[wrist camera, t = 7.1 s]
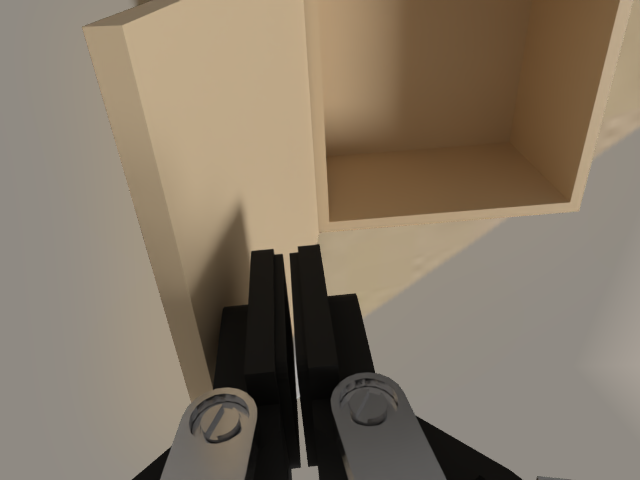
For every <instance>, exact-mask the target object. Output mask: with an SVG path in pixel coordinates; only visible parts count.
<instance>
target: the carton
mask: <svg viewBox="0 0 640 480" xmlns="http://www.w3.org/2000/svg"><path fill="white" fill-rule="evenodd" d="M633 1H634V0H304V16H305V31H306V46H307V62H308V77H309V92H310V108H311V123H312V138H313V153H314V169H315V184H316V199H317V215H318V230H319V233H322V232H334V231H346V230H358V229H370V228H382V227H395V226H407V225H419V224H431V223H443V222H455V221H467V220H480V219H492V218H504V217H516V216H527V215H540V214H551V213H564V212H577V211H579V209H580V205H581V201H582V197H583V193H584V189H585V185H586V182H587V178H588V173H589V170H590V166H591V163H592V159H593V155H594V151H595V147H596V143H597V140H598V136H599V132H600V128H601V124H602V120H603V116H604V113H605V109H606V105H607V101H608V97H609V93H610V89H611V86H612V82H613V78H614V74H615V70H616V66H617V63H618V59H619V55H620V51H621V47H622V43H623V39H624V36H625V32H626V28H627V24H628V20H629V16H630V12H631V9H632V5H633Z"/></svg>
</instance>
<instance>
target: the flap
mask: <svg viewBox="0 0 640 480" xmlns="http://www.w3.org/2000/svg"><path fill="white" fill-rule="evenodd" d="M82 29H83V32H84V36H85V39H86V42H87V46H88V49H89V53H90V56H91V59H92V63H93V66H94V70H95V73H96V77H97V80H98V83H99V87H100V91H101V94H102V97H103V101H104V104H105V108H106V111H107V114H108V118H109V121H110V125H111V128H112V132H113V135H114V139H115V142H116V145H117V149H118V152H119V156H120V159H121V163H122V166H123V169H124V173H125V176H126V180H127V183H128V187H129V189H130V194H131V197H132V201H133V204H134V207H135V211H136V214H137V218H138V221H139V224H140V228H141V231H142V234H143V238H144V242H145V245H146V249H147V252H148V255H149V259H150V262H151V266H152V269H153V273H154V276H155V280H156V283H157V286H158V290H159V293H160V297H161V300H162V303H163V307H164V311H165V314H166V317H167V321H168V324H169V328H170V331H171V335H172V338H173V341H174V345H175V348H176V352H177V355H178V358H179V362H180V366H181V369H182V372H183V376H184V379H185V383H186V386H187V389H188V393H189V396H190V400H191V403H192V402H193V401H194V400H195V399H196V398H198V397H199V396H201V395H202V394H204V393H206V392H209V391H211V390H213V384H214V375H215V367H216V359H217V350H218V342H219V334H220V326H221V317H222V311H223V308H224V307H227V306H237V305H247V304H248V297H249V279H250V261H251V251H256V250H266V249H274V254H283V259H284V268H285V276H286V284H287V293H288V301H289V309H290V318H291V326H292V334H293V336H294V320H293V304H292V288H291V272H290V256H289V253H295V252H298V246H307V245H316V244H317V240H318V236H319V230H318V215H317V199H316V184H315V169H314V153H313V138H312V123H311V108H310V92H309V77H308V62H307V46H306V31H305V16H304V0H152V1H149V2H147V3H144V4H141V5H139V6H136V7H133V8H131V9H128V10H125V11H123V12H120V13H117V14H115V15H112V16H109V17H107V18H104V19H101V20H99V21H96V22H94V23H91V24H88V25H85V26H83V27H82Z"/></svg>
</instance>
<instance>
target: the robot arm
mask: <svg viewBox="0 0 640 480" xmlns="http://www.w3.org/2000/svg"><path fill="white" fill-rule="evenodd" d="M289 256H290V272H291V288H292V304H293V320H294V336H295V353H296V366H297V377H298V385H299V394H300V402H301V410H302V419H303V426H304V435H305V444H306V452H307V460H308V467H310V466H318V470H319V480H522V479H521V478H520V477H518V476H517V475H516V474H514V473H513V472H512V471H510V470H509V469H507V468H505V467H504V466H502V465H500V464H499V463H497V462H495V461H493V460H492V459H490V458H488V457H486V456H485V455H483V454H481V453H479V452H477V451H476V450H474V449H473V448H471V447H469V446H467V445H466V444H464V443H462V442H461V441H459V440H457V439H455V438H454V437H452V436H450V435H448V434H447V433H445V432H443V431H442V430H440V429H438V428H436V427H435V426H433V425H431V424H429V423H428V422H426V421H424V420H423V419H420V418H419V417H417V416H415V414H414V412H413V410H412V408H411V406H410V404H409V402H408V400H407V398H406V396H405V394H404V392H403V391H402V389H401V388H400V387H399V385H398V384H397V383H396V382H394V381H393V380H392V379H390V378H389V377H386V376H383V375H381V374H377V373H375V370H374V366H373V362H372V357H371V353H370V349H369V345H368V340H367V336H366V332H365V328H364V324H363V319H362V315H361V311H360V307H359V302H358V298H357V295H356V293H355V294H346V295H336V296H327V290H326V283H325V277H324V271H323V264H322V258H321V252H320V245H319V244H317V245H307V246H298V252H295V253H289ZM300 467H301V463H300V446H299V429H298V411H297V394H296V377H295V360H294V344H293V334H292V326H291V318H290V309H289V301H288V293H287V284H286V276H285V268H284V259H283V254H274V249H266V250H256V251H251V261H250V279H249V297H248V304H247V305H237V306H227V307H224V308H223V311H222V317H221V326H220V334H219V342H218V350H217V359H216V367H215V375H214V384H213V390H211V391H209V392H206V393H204V394H202V395H201V396H199V397H198V398H196V399H195V400H194V401H193V402H192V403H191V404H190V405H189V406H188V407H187V409H186V411H185V412H184V414H183V416H182V419H181V422H180V424H179V427H178V430H177V433H176V436H175V439H174V441H173V444H172V446H171V447H170V448H169V449H168V450H167V451H165V452H164V453H163V454H162V455H161V456H159V457H158V458H157V459H156V460H155V461H153V462H152V463H151V464H150V465H149V466H148V467H147V468H145V469H144V470H143V471H142V472H141V473H139V474H138V475H137V476H136V477H135V478H133V479H132V480H292V473H291V469H293V468H300ZM536 480H569V479H560V478H550V477H541V476H537V479H536Z"/></svg>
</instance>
